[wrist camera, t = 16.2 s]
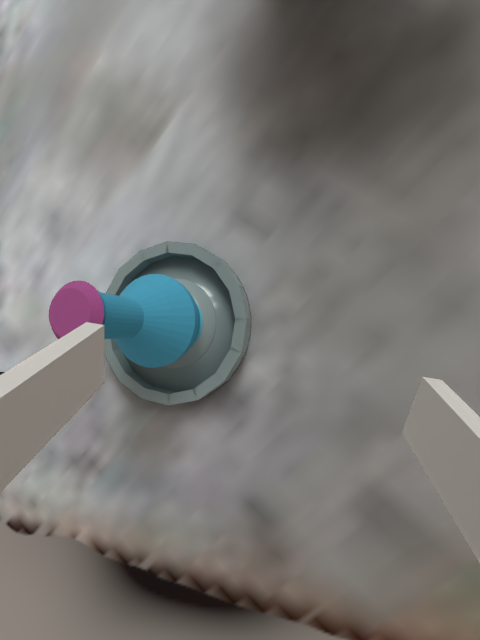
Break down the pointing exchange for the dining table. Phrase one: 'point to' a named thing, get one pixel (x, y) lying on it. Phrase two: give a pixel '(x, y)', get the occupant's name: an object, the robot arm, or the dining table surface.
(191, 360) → the round dish
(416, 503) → the dining table surface
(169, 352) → the perfume bottle
